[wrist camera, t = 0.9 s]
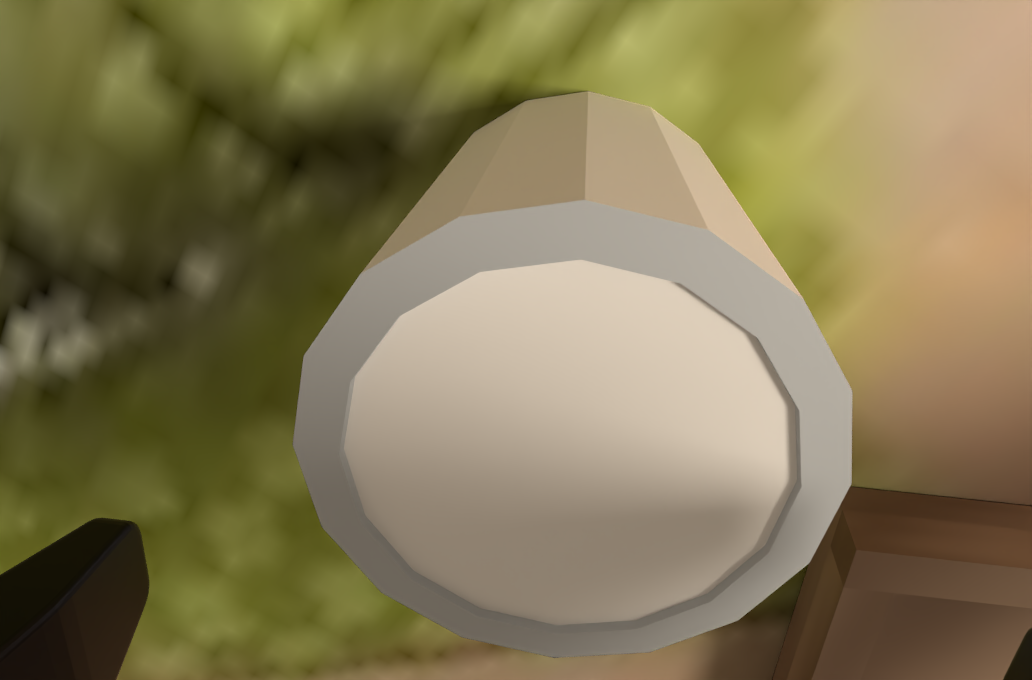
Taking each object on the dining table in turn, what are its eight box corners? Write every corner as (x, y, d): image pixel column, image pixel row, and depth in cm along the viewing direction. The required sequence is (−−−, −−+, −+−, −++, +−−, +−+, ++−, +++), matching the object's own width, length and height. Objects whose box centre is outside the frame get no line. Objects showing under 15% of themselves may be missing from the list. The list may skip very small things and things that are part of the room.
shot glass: (565, 449, 20) (549, 732, 13) (325, 227, 17) (177, 443, 11) (840, 255, 17) (976, 499, 11) (596, -36, 15) (593, 63, 9)
